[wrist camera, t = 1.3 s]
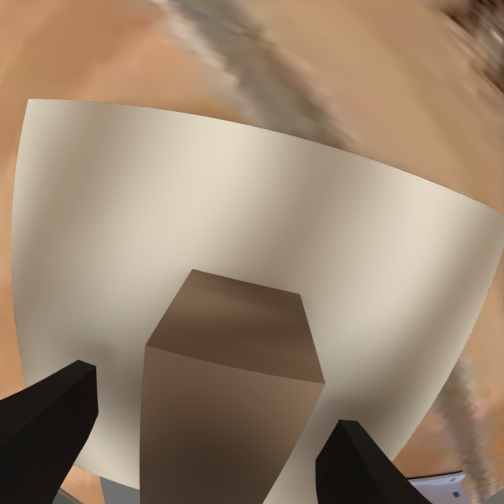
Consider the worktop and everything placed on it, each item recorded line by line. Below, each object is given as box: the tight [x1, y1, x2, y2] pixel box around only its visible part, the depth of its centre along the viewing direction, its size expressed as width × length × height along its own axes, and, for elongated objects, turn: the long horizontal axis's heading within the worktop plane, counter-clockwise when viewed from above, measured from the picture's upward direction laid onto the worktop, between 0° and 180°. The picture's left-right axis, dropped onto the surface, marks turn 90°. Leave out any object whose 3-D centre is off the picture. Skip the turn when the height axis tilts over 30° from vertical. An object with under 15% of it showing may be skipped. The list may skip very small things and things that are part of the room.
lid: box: [11, 99, 504, 504], centre depth 8 cm, size 16×16×5 cm
